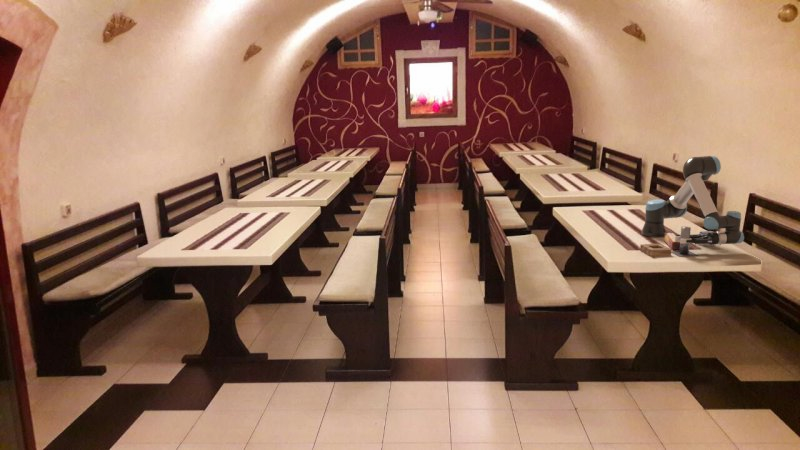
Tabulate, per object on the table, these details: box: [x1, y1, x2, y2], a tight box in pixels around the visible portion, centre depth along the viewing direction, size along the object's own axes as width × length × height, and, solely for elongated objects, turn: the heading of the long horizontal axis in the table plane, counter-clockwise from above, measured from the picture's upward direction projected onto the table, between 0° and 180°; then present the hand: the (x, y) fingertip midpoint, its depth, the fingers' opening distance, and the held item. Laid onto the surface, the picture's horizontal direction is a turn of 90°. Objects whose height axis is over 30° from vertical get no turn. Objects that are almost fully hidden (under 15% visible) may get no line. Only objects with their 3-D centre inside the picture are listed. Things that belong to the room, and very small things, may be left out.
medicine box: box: [698, 230, 715, 247], centre depth 361 cm, size 8×4×9 cm, turn 92°
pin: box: [678, 226, 691, 255], centre depth 342 cm, size 5×5×16 cm
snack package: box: [663, 232, 680, 251], centre depth 361 cm, size 21×7×7 cm, turn 166°
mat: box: [671, 250, 699, 258], centre depth 344 cm, size 12×12×1 cm
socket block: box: [639, 243, 672, 258], centre depth 347 cm, size 14×12×4 cm
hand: (678, 240), depth 342 cm, fingers closed on pin, 5 cm apart
